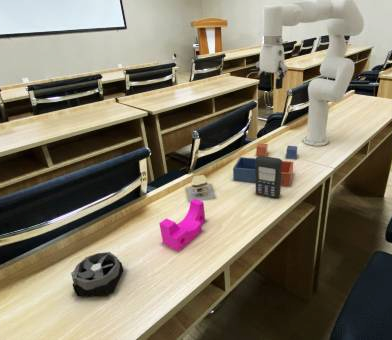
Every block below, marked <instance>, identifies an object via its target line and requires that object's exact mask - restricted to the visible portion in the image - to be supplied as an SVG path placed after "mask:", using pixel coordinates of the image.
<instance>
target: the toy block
mask: <svg viewBox="0 0 392 340" xmlns="http://www.w3.org/2000/svg"><path fill="white" fill-rule="evenodd" d="M205 222H206V213H205V203H204V201H203V200H197V199H193V200H192V201H190V202H189V207H188V210H187V213H186V215H185V216H184V217H183V219H182V220H181V221H179V222H178V223H176V221H174V220H171V219H169V218H164V219H163V220H161V221H160V222H159V223H158V224H159V230H160V233H161V234H160V235H161V240H162V244H163V245H164V246H167V247H169V248H171V249H173V250H175V251H177V252H180V251H181V250H182V249H183V248H185V246H187V245H188V244H189V243H191V241H193V240H194V239H196V238H197V236H199V235H200V234H201V233H202V232H203V228H202V227H203V226H202V225H203V224H204V223H205Z"/></svg>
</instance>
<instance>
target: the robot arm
mask: <svg viewBox="0 0 392 340" xmlns="http://www.w3.org/2000/svg"><path fill="white" fill-rule="evenodd" d="M325 20H327V23H326V30H327V34H328V39H329V40H328V41H329V44H328V47H327V50H326V52H325V55H324V57H323V59H322V62H321V64H320V67H319V73H320V75H321V76H322V78H320V77H317V78H313V79H312V80H310V82H309V84H308V87H307V94H308V112H307V124H306V136H303V138H302V141H303V143H304V144H306V145H309V146H315V147H321V146H322V147H323V146H326V145H327V144H328V143H329V138H327V137H326V135H327V127H328V118H329V109H330V108H329V103H333V104H335V103H340V102H341V101H342V99H343V98H344V96H345V95H346V92H347V89H348V88H349V85H350V83H351V81H352V79H353V76H354V73H355V63H354V61H353V60H352V59H351V58H347V57H345V56H346V53H347V51H348V44H347V41H346V38H345V36H346V37H356V36H358V35H360V34H361V33H362V32H363V31H364V26H365V19H364V17H363V14H362V13H361V11H360V9H359V8H358V5H357V4H356V2H355V1H354V0H298V1H291V2H283V3H277V4H273V3H272V4H271V3H270V4H265V5H264V6H263V7H262V20H261V21H262V27H261V28H262V29H261V46H260V52H259V53H260V54H259V60H257V62H255V66H256V70H257V72H258V73H257V74H258V78H259V79H258V82H259V83H258V85H259V86H264V85H267V74H266V73H271V74H275V77H276V78H275V90H281V89H283V81H284V78H285V76H286V75H287V72H288V70H289V67H288V66H287V65H286V64H285V49H284V45H282V44H283V42H284V39H283V27H294V26H298V25H299V24H307V23H308V24H310V23H316V22H320V21H325ZM323 77H324V78H323ZM334 79H335V80H334Z"/></svg>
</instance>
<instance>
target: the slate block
mask: <svg viewBox="0 0 392 340" xmlns="http://www.w3.org/2000/svg"><path fill="white" fill-rule="evenodd" d="M285 155H286V156H285V158H286V159H288V160H289V159H291V160H297V157H298V146H296V145H287V147H286V153H285Z"/></svg>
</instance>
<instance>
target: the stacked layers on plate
mask: <svg viewBox="0 0 392 340" xmlns="http://www.w3.org/2000/svg"><path fill="white" fill-rule="evenodd" d="M191 179H192V180H191V184H190V185H191V186H190V187H187V188H186V189H187V196H188V201H189V203H190V201H192V200H193V199H197V200H200V201H203V200H209V199H214V198H215V196H214V193H213V189H212V186H211V184H209V183H208V178H207V177H206V176H205V175H204V174H201V175H194V176H193V177H192V178H191Z"/></svg>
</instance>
